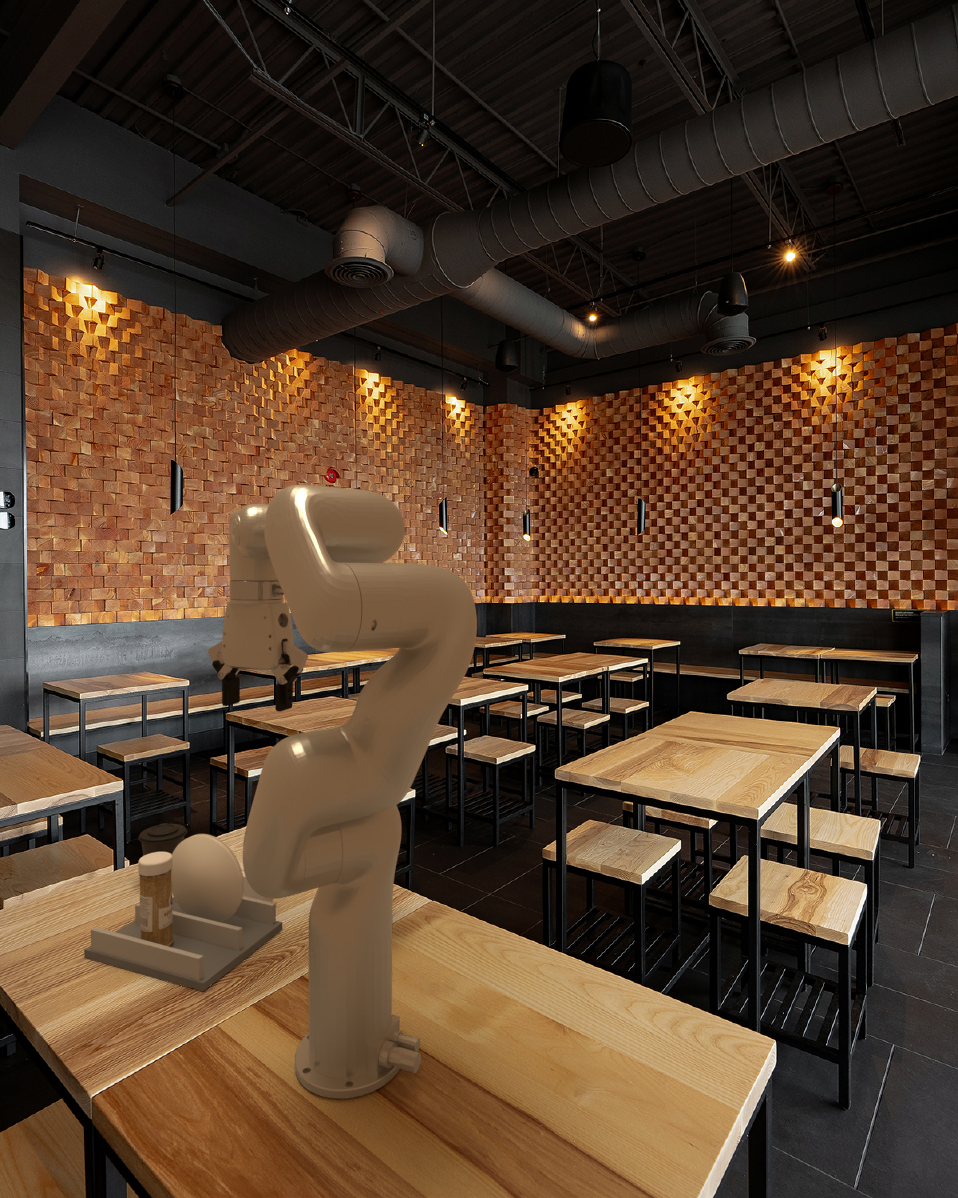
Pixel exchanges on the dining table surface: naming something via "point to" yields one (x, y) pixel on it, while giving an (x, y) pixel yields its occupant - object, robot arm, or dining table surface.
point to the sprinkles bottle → (156, 898)
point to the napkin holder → (249, 891)
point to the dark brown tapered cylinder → (162, 838)
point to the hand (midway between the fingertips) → (257, 707)
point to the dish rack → (195, 921)
